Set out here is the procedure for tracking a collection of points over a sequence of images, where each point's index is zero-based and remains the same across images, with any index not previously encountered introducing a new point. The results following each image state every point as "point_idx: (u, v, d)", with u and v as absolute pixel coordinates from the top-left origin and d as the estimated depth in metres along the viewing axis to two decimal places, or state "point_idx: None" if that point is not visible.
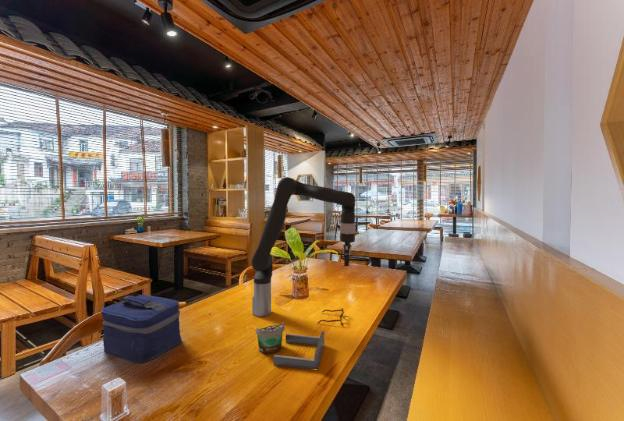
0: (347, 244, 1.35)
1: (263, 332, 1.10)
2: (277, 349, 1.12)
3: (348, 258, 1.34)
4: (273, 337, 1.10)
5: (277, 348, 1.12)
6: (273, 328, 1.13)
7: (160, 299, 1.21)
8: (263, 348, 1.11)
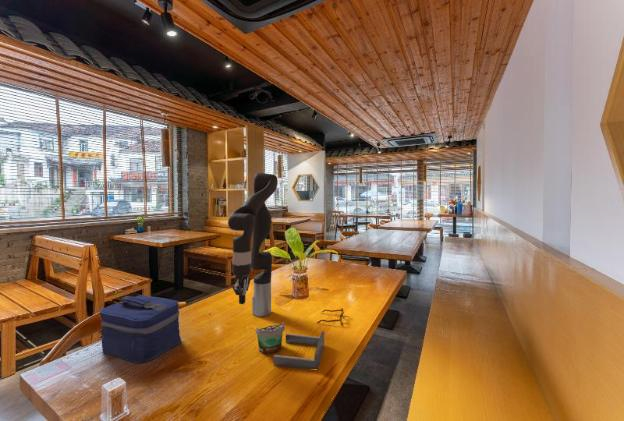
0: (238, 278, 1.10)
1: (263, 332, 1.10)
2: (277, 349, 1.12)
3: (243, 295, 1.13)
4: (273, 337, 1.10)
5: (277, 348, 1.12)
6: (273, 328, 1.13)
7: (159, 299, 1.21)
8: (263, 348, 1.11)
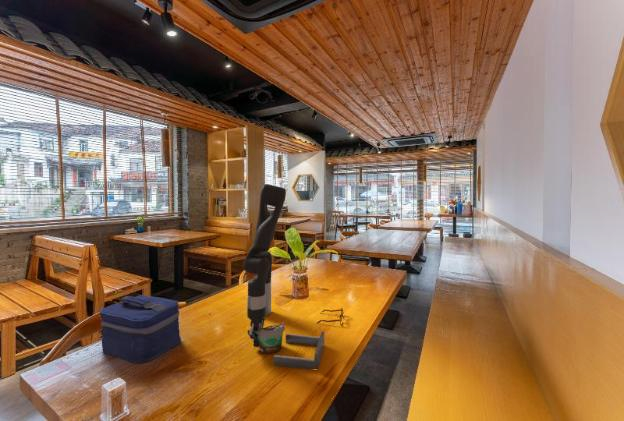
0: (253, 322, 1.09)
1: (263, 332, 1.10)
2: (277, 349, 1.12)
3: (257, 338, 1.13)
4: (273, 337, 1.10)
5: (277, 348, 1.12)
6: (273, 328, 1.13)
7: (159, 300, 1.21)
8: (263, 348, 1.11)
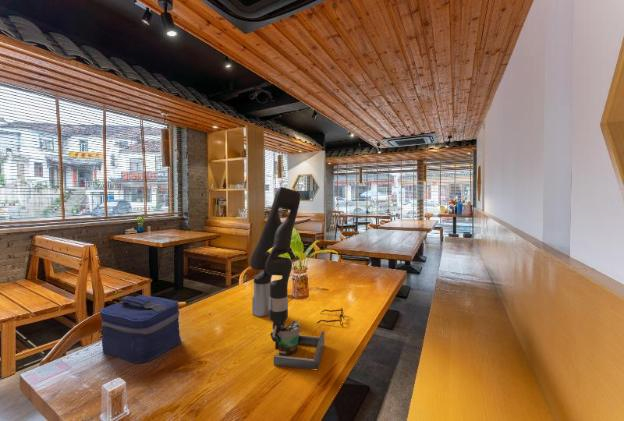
0: (276, 324, 1.07)
1: (289, 333, 1.09)
2: None
3: (279, 341, 1.11)
4: (296, 335, 1.11)
5: (297, 346, 1.14)
6: (291, 328, 1.13)
7: (159, 300, 1.21)
8: (286, 350, 1.09)
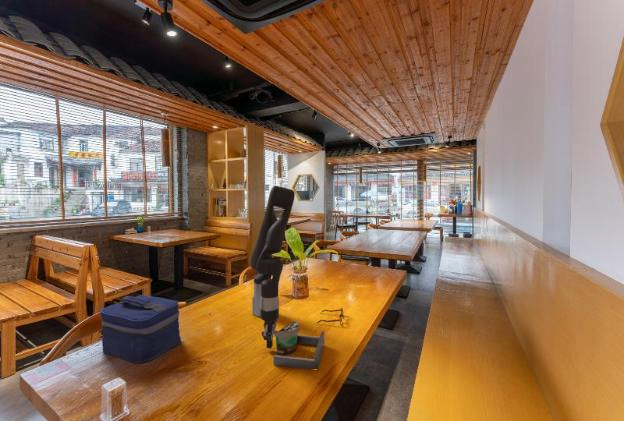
0: (267, 323, 1.09)
1: (285, 333, 1.09)
2: (295, 347, 1.14)
3: (271, 339, 1.12)
4: (294, 336, 1.11)
5: (296, 346, 1.14)
6: (290, 328, 1.14)
7: (159, 300, 1.21)
8: (283, 350, 1.10)
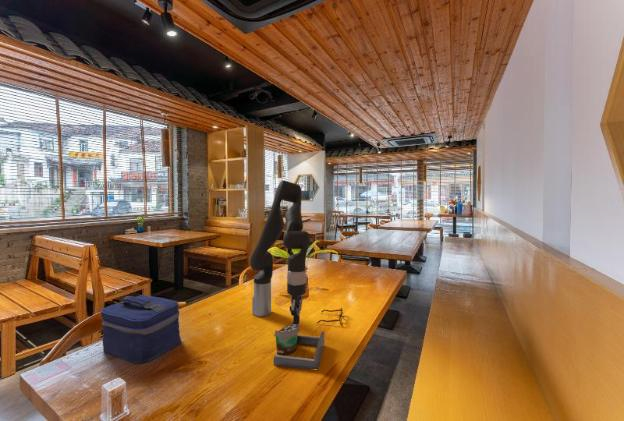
0: (294, 298, 1.06)
1: (285, 333, 1.09)
2: (295, 347, 1.14)
3: (298, 315, 1.09)
4: (294, 336, 1.11)
5: (296, 346, 1.14)
6: (290, 328, 1.14)
7: (160, 300, 1.21)
8: (283, 350, 1.10)
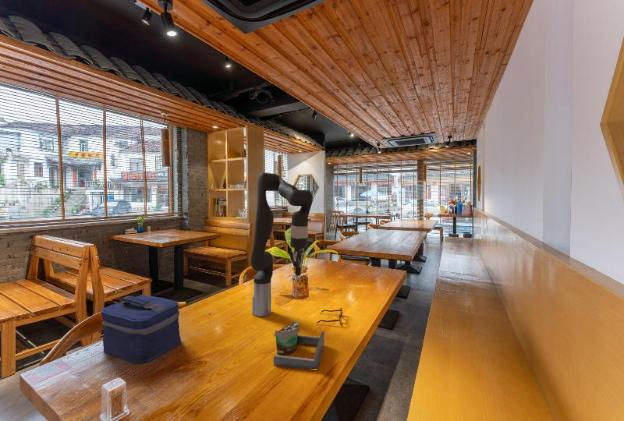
0: (297, 250, 1.16)
1: (285, 333, 1.09)
2: (295, 347, 1.14)
3: (299, 267, 1.19)
4: (294, 336, 1.11)
5: (296, 346, 1.14)
6: (290, 328, 1.14)
7: (160, 300, 1.21)
8: (283, 350, 1.10)
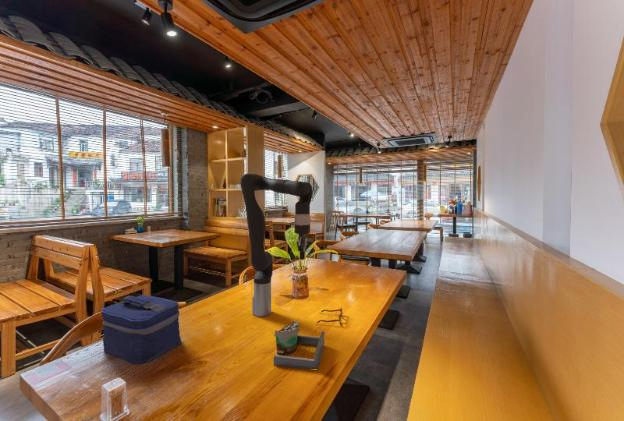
0: (301, 236, 1.29)
1: (285, 333, 1.09)
2: (295, 347, 1.14)
3: (303, 251, 1.32)
4: (294, 336, 1.11)
5: (296, 346, 1.14)
6: (290, 328, 1.14)
7: (160, 300, 1.21)
8: (283, 350, 1.10)
